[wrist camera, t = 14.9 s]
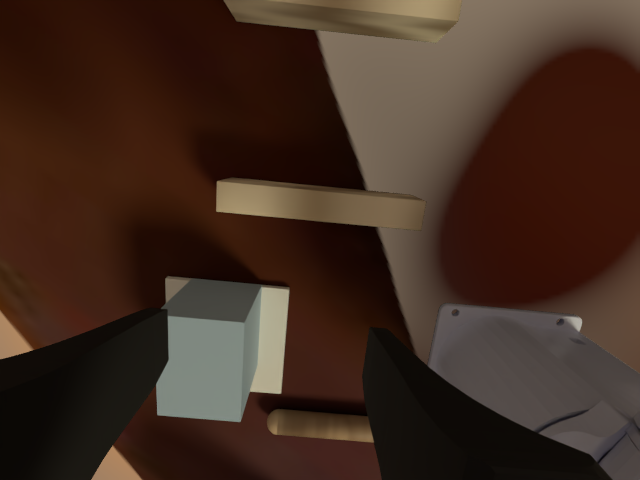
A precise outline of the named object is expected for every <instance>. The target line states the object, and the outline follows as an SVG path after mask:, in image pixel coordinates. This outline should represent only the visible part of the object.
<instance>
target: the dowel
mask: <svg viewBox="0 0 640 480" xmlns="http://www.w3.org/2000/svg"><path fill="white" fill-rule="evenodd" d="M267 426H268V429H269V430H270V431H271V432H272V433H273V434H277V435H288V436H301V437H313V438H326V439H338V440H350V441H363V442H374V441H373V436H372V432H371V428H370V423H369V419H368V416H359V415H346V414H334V413H322V412H310V411H298V410H286V409H276V410H274V411H272V412H271V413H270V415H269V416H268V419H267Z"/></svg>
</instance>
